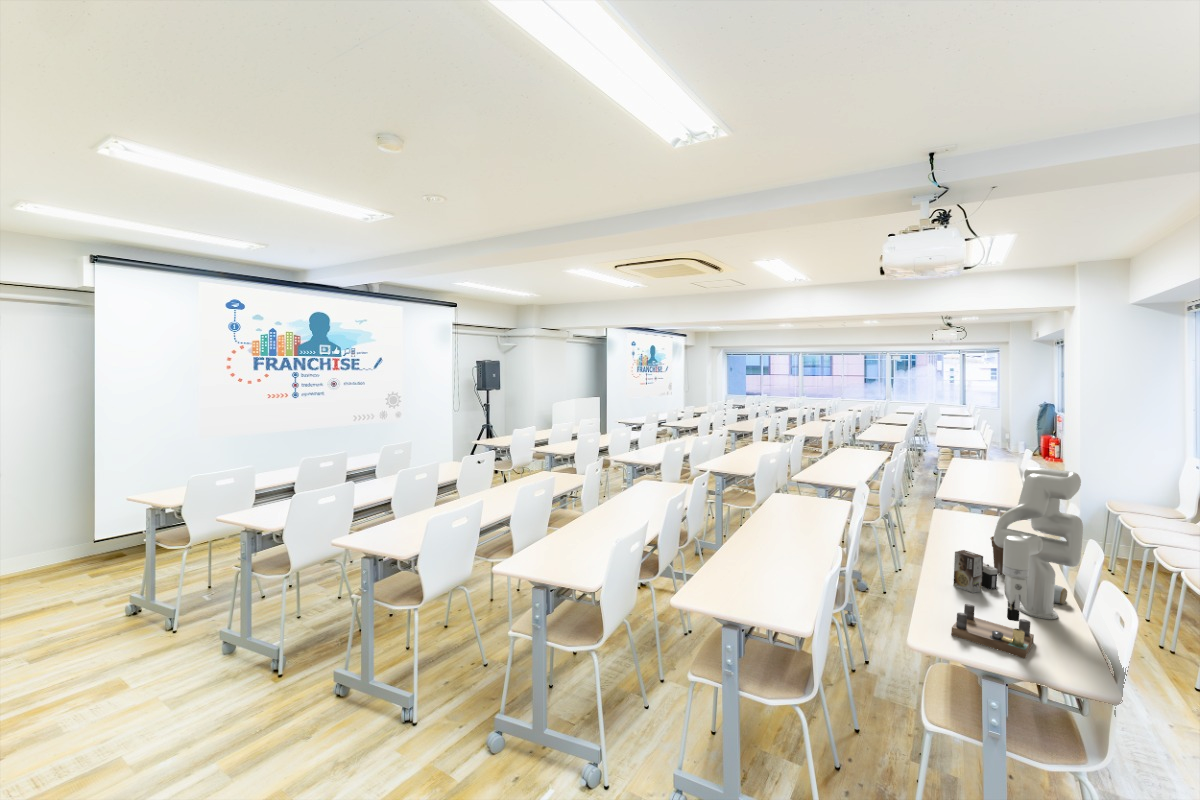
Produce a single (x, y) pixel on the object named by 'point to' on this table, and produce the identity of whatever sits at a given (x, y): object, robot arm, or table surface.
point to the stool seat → (990, 632)
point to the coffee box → (968, 571)
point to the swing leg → (1016, 640)
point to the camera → (989, 577)
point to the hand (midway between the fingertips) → (1012, 619)
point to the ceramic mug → (1060, 594)
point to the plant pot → (997, 556)
